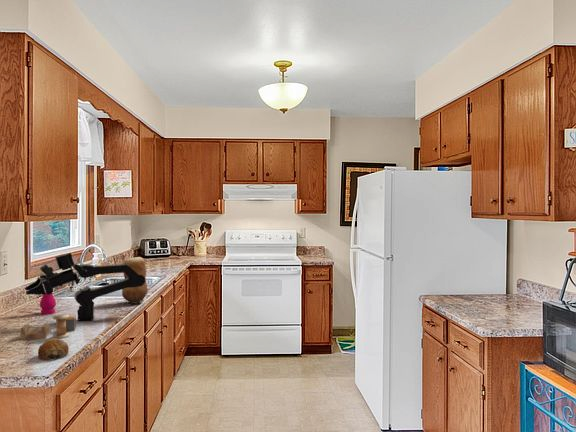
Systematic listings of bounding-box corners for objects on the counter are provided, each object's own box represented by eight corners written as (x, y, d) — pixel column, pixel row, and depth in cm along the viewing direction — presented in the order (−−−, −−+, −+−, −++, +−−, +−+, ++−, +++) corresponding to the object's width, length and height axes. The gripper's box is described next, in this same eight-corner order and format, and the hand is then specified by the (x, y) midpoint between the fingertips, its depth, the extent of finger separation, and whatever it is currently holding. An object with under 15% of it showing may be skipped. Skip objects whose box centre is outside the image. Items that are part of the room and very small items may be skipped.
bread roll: (71, 363, 184) (74, 341, 188) (60, 359, 175) (64, 335, 178) (43, 363, 184) (47, 341, 187) (31, 359, 175) (35, 335, 178)
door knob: (70, 334, 211) (70, 313, 211) (67, 337, 205) (67, 317, 205) (54, 335, 210) (54, 314, 209) (51, 338, 204) (51, 317, 204)
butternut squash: (118, 302, 279) (118, 256, 279) (142, 299, 287) (142, 255, 287) (127, 306, 268) (127, 258, 268) (152, 303, 276) (152, 257, 276)
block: (75, 328, 221) (75, 314, 221) (74, 330, 217) (74, 316, 217) (67, 328, 220) (67, 315, 220) (65, 331, 216) (65, 317, 216)
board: (51, 331, 215) (50, 321, 215) (45, 338, 205) (45, 327, 205) (27, 332, 213) (27, 322, 213) (20, 339, 202) (20, 328, 202)
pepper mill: (51, 311, 256) (51, 271, 256) (58, 313, 252) (58, 272, 251) (37, 313, 251) (36, 272, 250) (44, 315, 246) (43, 274, 246)
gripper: (54, 259, 239) (18, 270, 232) (59, 264, 223) (20, 277, 216) (62, 281, 241) (26, 293, 234) (67, 288, 225) (29, 301, 218)
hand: (25, 291), depth 225 cm, fingers open, 9 cm apart
